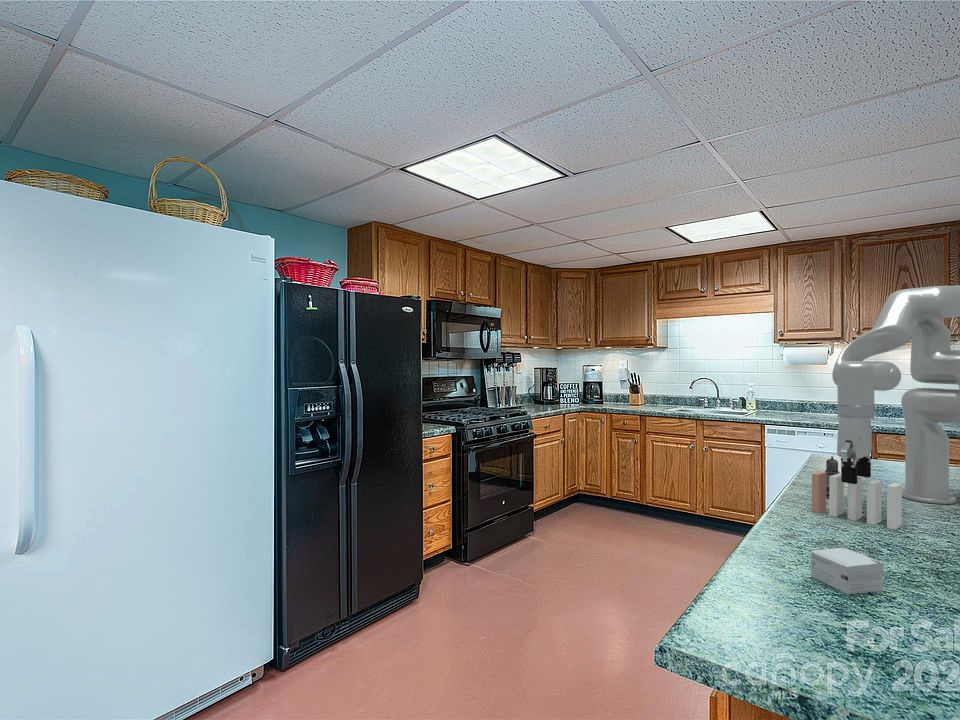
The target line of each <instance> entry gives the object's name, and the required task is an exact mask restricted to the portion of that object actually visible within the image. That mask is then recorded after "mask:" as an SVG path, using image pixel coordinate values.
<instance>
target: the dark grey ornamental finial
mask: <svg viewBox="0 0 960 720" xmlns="http://www.w3.org/2000/svg"><path fill="white" fill-rule="evenodd" d="M838 461H839V460H837V459H835V458H834V456H833V455H832V456H830V458H828V459H827V460H826V462H825V468H826V469H825V470H824V472H826V499H827V498H829V476H832V475H835V474H841V472H840V471H839V462H838Z"/></svg>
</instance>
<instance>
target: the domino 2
mask: <svg viewBox="0 0 960 720" xmlns="http://www.w3.org/2000/svg"><path fill="white" fill-rule="evenodd" d="M861 517H862V518H863V477H861V476H857V484H850V483H847V520H848V519H849V520H848V521H852V522H853V521H855V522H856V521H858V520H860V519H862V518H861ZM859 518H860V519H859Z"/></svg>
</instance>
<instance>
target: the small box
mask: <svg viewBox="0 0 960 720" xmlns="http://www.w3.org/2000/svg"><path fill="white" fill-rule="evenodd" d="M810 551H811V552H810V554H811V555H810V556H811V558H810V563H811V564H810V568H811V569H810V577H811V578H812V577H813V579H814V578H815V580H817V579H818V580H817V581H819V580H820V581H819V582H821V581H822V582H821V583H823V582H824V583H823V584H825V583H826V584H825V585H827V584H828V585H827V586H829V585H830V586H829V587H831V586H832V587H831V588H833V587H834V588H833V589H835V588H836V589H835V590H837V589H839V590H840V591H839V590H838V591H839V592H841V591H842V592H844V593H846V594H854V595H858V594H857V593H862V594H869V593H868V592H870V593H877V591H878V592H883V591H884V567H885V566H884V565H885V564H884V563H883V562H882V561H879V560H877V559H874V558H872V557H869V556H867V555H865V554H862V553H859V552H857V551H853V550H851V549H848V548H846V547H834V548H833V547H832V548H828V549H826V548H825V549H817V550H810ZM842 592H841V593H842ZM844 593H843V594H844ZM846 594H845V595H846Z"/></svg>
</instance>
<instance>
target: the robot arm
mask: <svg viewBox="0 0 960 720" xmlns="http://www.w3.org/2000/svg"><path fill="white" fill-rule="evenodd" d="M958 317H959V318H960V285H959V284H958V285H935V286H934V285H933V286H921V287H913V288H905V289H903V288H902V289H898V290H896V291H894V292H891V294H890V295H888V297H887V299H886V300H885V302H884V304H883V307H882V309H881V311H880V312H879V315H878V316H877V319H876V321H875V322H874V325H873V327H872V328H871V329H870V330H867V331H866V332H864V333H863V334H861V335H859V336H858V337H857V338H856V337H855V339H853V340H851V341H850V342H849V343H847V345H845V346H844V347H843V348H842V349H841V351H840V353H839V355H838V357H837V359H836V361H835V364H834V366H833V369H832V373H831V376H832V377H831V378H832V380H833V383H834V384H835V385H836V386H837V387H836V388H837V391H836V392H837V418H839V420H838V427H837V446H836V454H837V456H838V457H839V458H840V467H841V468H840V470H841V472H840V474H841V481H842V482H844V484H848V483H850V484H857V477H861V478H871V477H872V474H871V473H872V467H871V466H872V465H871V464H872V462H871V460H872V458H871V454H872V450H873V435H872V421H871V420H875V391H876V392H877V391H878V392H879V391H883V392H884V391H885V392H886V391H891V390H893V389H896V387H898V385H900V382H901V379H902V373H901V370H900V368H899V367H898V366H897V365H896V364H895V363H892V362H890V361H883V360H881V361H880V360H879V361H876V360H875V361H870V360H866V359H868V358H870V357H873V356H875V355H876V356H877V355H878V354H883V353H885V352H889V351H893V350H895V349H898V348H901V347H903V346H905V345H906V344H908V343H909V342H910V341H911V347H910V348H911V349H910V365H909V366H910V368H909V370H910V375H911V378H912V379H913V380H914V381H916V382H919V383H921V384H922V383H923V384H937V385H956V386H957V385H958V389H953V388H936V387H934V388H933V387H918V388H917V387H916V388H911V389H909V390H907V391H906V392H904V393H903V395H902V396H901V401H900V402H901V404H900V405H901V410H902V414H903V415H902V416H903V418H904V419H903V420H904V427H905V428H904V430H905V432H904V433H905V444H904V445H905V447H904V448H905V451H904V452H905V453H904V454H905V459H904V463H905V466H904V467H905V469H904V473H905V475H904V476H905V477H904V480H905V481H904V482H905V483H904V487H905V488H902V498H905V499H907V500H911V501H917V502H921V503H929V504H938V505H940V504H941V505H949V504H950V505H951V504H956V503H957V497H955V496H954V495H951V494H950V438H949V435H948V434H947V432H946V430H945V429H944V428H943V427H942V426H941V424H942V423H943V424H953V425H960V349H959V350H958V349H957V350H956V349H955V350H953V349H952V350H951V343H952V342H951V341H952V340H951V338H952V334H951V331H950V329H948V327H947V326H946V325H945V324H944V322H942V321H941V320H940V319H947V318H949V319H951V318H958Z"/></svg>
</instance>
